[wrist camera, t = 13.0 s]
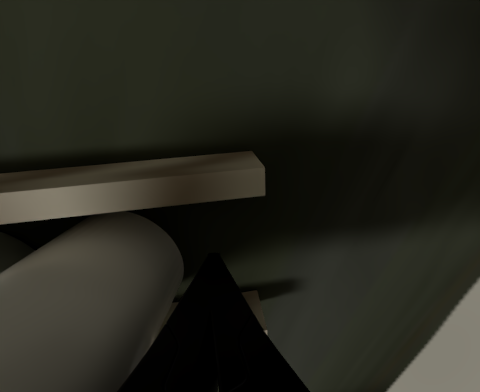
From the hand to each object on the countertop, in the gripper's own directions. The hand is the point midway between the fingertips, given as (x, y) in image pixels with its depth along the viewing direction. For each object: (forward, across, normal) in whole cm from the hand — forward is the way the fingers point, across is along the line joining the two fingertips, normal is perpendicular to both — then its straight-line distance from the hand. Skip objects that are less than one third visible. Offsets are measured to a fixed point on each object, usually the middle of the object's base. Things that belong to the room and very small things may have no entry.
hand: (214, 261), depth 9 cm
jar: (+1, +4, +1) cm, 4 cm away
